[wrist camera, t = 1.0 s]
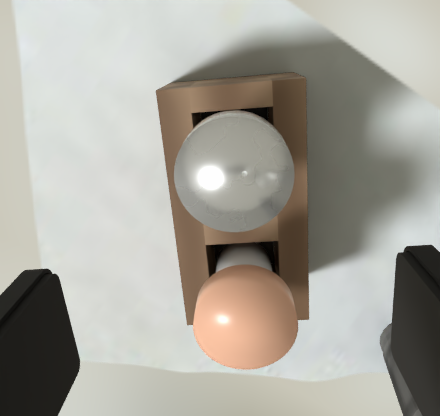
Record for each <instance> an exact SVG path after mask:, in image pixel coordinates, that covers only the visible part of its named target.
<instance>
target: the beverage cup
mask: <svg viewBox="0 0 440 416" xmlns="http://www.w3.org/2000/svg"><path fill="white" fill-rule="evenodd" d="M391 330H392V323H391V324H390V325H388V326H387V327H386V328H385V329H384V330H383V332H382V334H381V336H380V345H381V349H382V351H383V356H384V360H385V363H386V366H387V369H388V372H389V375H390V378H391V380H392V384H393V387H394V389H395V392H396V395H397V398H398V401H399V404H400V407H401V410H402V413H403V416H422V414H421V412H420V410H419V408H418V406H417V404H416V402H415V400H414V398H413V396H412V394H411V392H410V390H409V388H408V386H407V384H406V382H405V380H404V378H403V376H402V375H401V373H400V371H399V369H398V367H397V365H396V363H395V361H394V358H393V356H392V352H391Z"/></svg>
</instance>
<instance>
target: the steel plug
mask: <svg viewBox="0 0 440 416" xmlns="http://www.w3.org/2000/svg"><path fill="white" fill-rule="evenodd" d="M294 174H295V172H294V164H293V160H292V156H291V154H290V151H289V149H288V147H287V145H286V143H285V141H284V139H283V137H282V136H281V134H280V133H279V132H278V130H277V129H276V128H275V127H274V126H273V125H272V124H271V123H269V122H268V121H267V120H265V119H264V118H262V117H260V116H258V115H256V114H253V113H250V112H246V111H238V110H236V111H224V112H220V113H216V114H214V115H211V116H209V117H207V118H206V119H204V120H202V121H201V122H200V123H199V124H197V125H196V126H195V127H194V128H193V129H192V130H191V132H190V133H189V135H188V136H187V138H186V139H185V141H184V143H183V144H182V146H181V148H180V150H179V152H178V155H177V158H176V162H175V166H174V182H175V187H176V191H177V194H178V196H179V198H180V200H181V202H182V204H183V205H184V207H185V208H186V210H187V211H188V212H189V213H190V214H191V215H192V216H193V217H194V218H195V219H197V220H198V221H199V222H201V223H202V224H204V225H206V226H208V227H211V228H213V229H216V230H220V231H225V232H244V231H249V230H253V229H255V228H258V227H260V226H262V225H264V224H266V223H268V222H269V221H271V220H272V219H273V218H274V217H275V216H277V215H278V214H279V213H280V211H281V210H282V209H283V208H284V206H285V205H286V203H287V201H288V199H289V197H290V195H291V192H292V189H293V185H294Z"/></svg>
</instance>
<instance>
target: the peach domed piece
mask: <svg viewBox="0 0 440 416" xmlns="http://www.w3.org/2000/svg"><path fill="white" fill-rule="evenodd" d="M193 330H194V335H195V338H196V341H197V343H198V344H199V346H200V348H201V349H202V350H203V351H204V352H205V353H206V355H208V356H209V357H210V358H211V359H213V360H214V361H216V362H218V363H220V364H222V365H224V366H227V367H231V368H235V369H257V368H262V367H265V366H268V365H270V364H272V363H274V362H276V361H278V360H279V359H281V358H282V357H283V356H284V355H285V354H286V353H287V352H288V351H289V350H290V349H291V347H292V346H293V344H294V342H295V339H296V337H297V332H298V320H297V315H296V310H295V306H294V301H293V297H292V294H291V291H290V289H289V288H288V286H287V284H286V283H285V282H284V281H283V280H282V279H281V278H280V277H279V276H278V275H276V274H275V273H274V272H272V266H271V260H270V256H269V254H268V253H267V251H266V250H265V249H264V248H263V247H262V246H261V245H259V244H258V243H255V242H249V243H232V244H228V245H227V246H225V247H224V248H223V249H222V251H221V252H220V254H219V256H218V259H217V266H216V273H215V274H213V275H212V276H211V277H210V278H208V279H207V280H206V282H205V283H204V284H203V286H202V287H201V289H200V291H199V294H198V297H197V302H196V308H195V314H194V321H193Z"/></svg>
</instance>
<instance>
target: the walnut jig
mask: <svg viewBox="0 0 440 416" xmlns="http://www.w3.org/2000/svg"><path fill="white" fill-rule="evenodd" d="M156 95H157V103H158V110H159V118H160V125H161V133H162V140H163V148H164V155H165V162H166V170H167V177H168V185H169V192H170V200H171V207H172V215H173V222H174V230H175V237H176V245H177V252H178V260H179V267H180V275H181V282H182V290H183V297H184V305H185V312H186V319H187V325H193V321H194V314H195V308H196V302H197V297H198V294H199V291H200V289H201V287H202V286H203V284H204V283H205V282H206V280H207V279H208V278H210V277H211V276H212V275H213V274H215V273H216V261H215V250H214V245H215V244H232V243H249V242H266V241H273V246H274V264H271V266H272V272H274V273H275V274H276V275H278V276H279V277H280V278H281V279H282V280H283V281H284V282H285V283H286V284H287V286H288V288H289V289H290V291H291V294H292V297H293V301H294V306H295V310H296V315H297V320H309V280H308V197H307V115H306V78H305V77H303V76H301V75H299V74H296V73H294V72H290V73H279V74H267V75H255V76H244V77H232V78H220V79H209V80H197V81H185V82H174V83H169V84H167V85H166V86H164V87H162V88H160V89H158V90H156ZM259 107H267V110H268V122H269V123H271V124H272V125H273V126H274V127H275V128H276V129H277V130H278V132H279V133H280V134H281V136H282V137H283V139H284V141H285V143H286V145H287V147H288V149H289V151H290V154H291V156H292V160H293V164H294V172H295V174H294V185H293V189H292V192H291V195H290V197H289V199H288V201H287V203H286V205H285V206H284V208H283V209H282V210H281V211H280V213H279V214H278V215H277V216H275V217H274V218H273V219H272V220H271V221H269V222H268V223H266V224H264V225H262V226H260V227H258V228H255V229H253V230H249V231H244V232H225V231H220V230H216V229H213V228H211V227H208V226H206V225H204V224H202V223H201V222H199V221H198V220H197V219H195V218H194V217H193V216H192V215H191V214H190V213H189V212H188V211H187V210H186V208H185V207H184V205H183V204H182V202H181V200H180V198H179V196H178V194H177V191H176V187H175V182H174V166H175V162H176V158H177V155H178V152H179V150H180V148H181V146H182V144H183V143H184V141H185V139H186V138H187V136H188V135H189V133H190V132H191V130H192V129H193V128H194V127H195V126H196V125H197V124H199V123H200V122H201V121H202V119H201V112H210V111H222V110H234V109H247V108H259Z"/></svg>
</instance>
